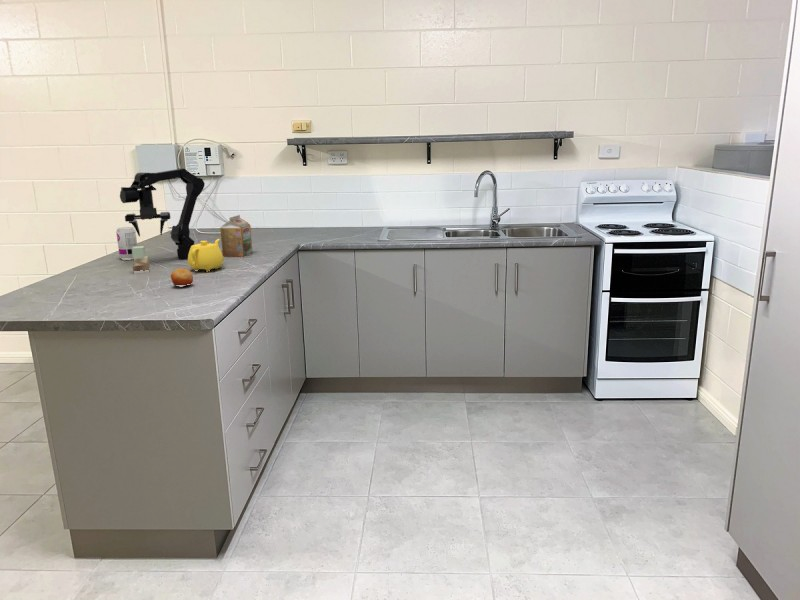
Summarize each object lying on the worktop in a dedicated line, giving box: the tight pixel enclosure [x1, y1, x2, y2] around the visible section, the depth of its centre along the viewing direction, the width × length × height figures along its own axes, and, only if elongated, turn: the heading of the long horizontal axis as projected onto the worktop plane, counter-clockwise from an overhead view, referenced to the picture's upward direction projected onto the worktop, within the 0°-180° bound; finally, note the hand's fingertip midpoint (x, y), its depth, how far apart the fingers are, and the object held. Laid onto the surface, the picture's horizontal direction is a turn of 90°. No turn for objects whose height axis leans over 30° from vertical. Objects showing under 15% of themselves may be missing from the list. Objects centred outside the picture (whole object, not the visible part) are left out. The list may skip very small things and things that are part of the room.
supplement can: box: [115, 226, 138, 258], centre depth 291 cm, size 8×8×15 cm
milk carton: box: [219, 214, 254, 258], centre depth 296 cm, size 11×11×19 cm
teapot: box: [187, 238, 224, 271], centre depth 266 cm, size 14×20×13 cm
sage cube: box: [132, 245, 147, 259], centre depth 263 cm, size 4×4×4 cm
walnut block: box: [132, 262, 151, 272], centre depth 264 cm, size 6×6×4 cm
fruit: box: [170, 267, 194, 286], centre depth 237 cm, size 8×8×8 cm
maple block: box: [133, 255, 150, 266], centre depth 264 cm, size 5×5×3 cm
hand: (150, 235), depth 278 cm, fingers open, 9 cm apart
